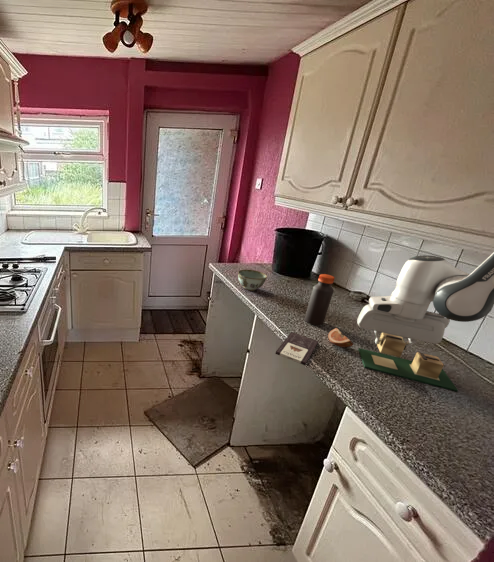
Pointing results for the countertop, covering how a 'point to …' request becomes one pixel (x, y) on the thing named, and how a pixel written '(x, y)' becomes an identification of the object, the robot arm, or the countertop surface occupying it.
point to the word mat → (402, 369)
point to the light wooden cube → (391, 345)
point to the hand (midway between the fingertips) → (389, 346)
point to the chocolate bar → (297, 348)
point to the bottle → (320, 300)
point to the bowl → (251, 279)
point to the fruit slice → (339, 338)
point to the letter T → (427, 365)
